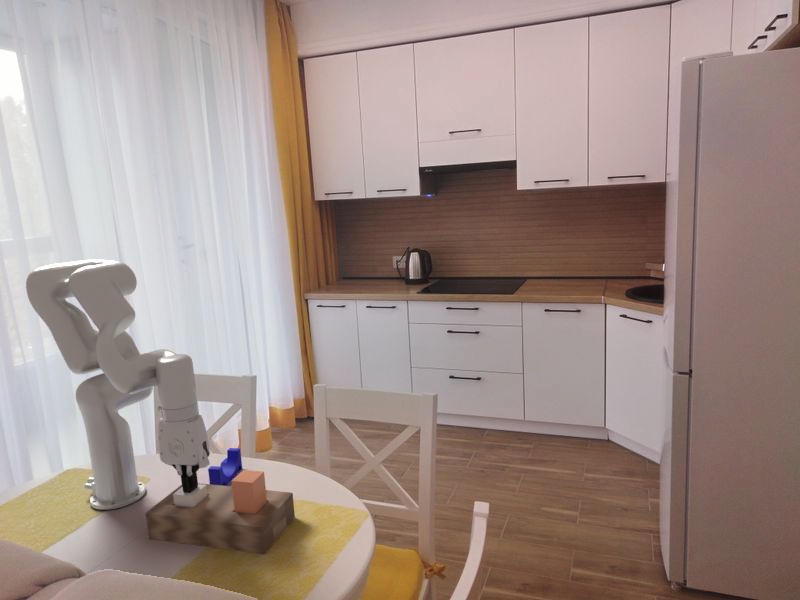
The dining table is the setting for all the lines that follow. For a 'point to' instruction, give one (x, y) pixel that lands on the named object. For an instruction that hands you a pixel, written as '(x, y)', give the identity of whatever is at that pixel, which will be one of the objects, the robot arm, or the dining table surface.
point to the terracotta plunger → (249, 492)
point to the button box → (221, 521)
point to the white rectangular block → (190, 496)
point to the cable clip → (226, 468)
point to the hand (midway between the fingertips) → (190, 489)
